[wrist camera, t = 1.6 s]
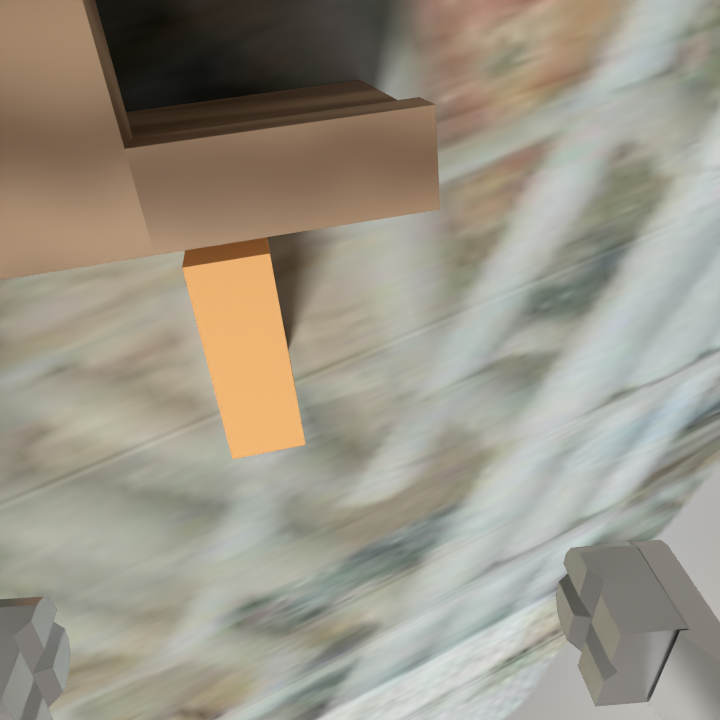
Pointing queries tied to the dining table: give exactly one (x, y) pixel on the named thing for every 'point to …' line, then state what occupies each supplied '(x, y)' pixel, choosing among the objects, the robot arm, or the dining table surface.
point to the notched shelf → (183, 154)
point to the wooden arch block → (245, 345)
